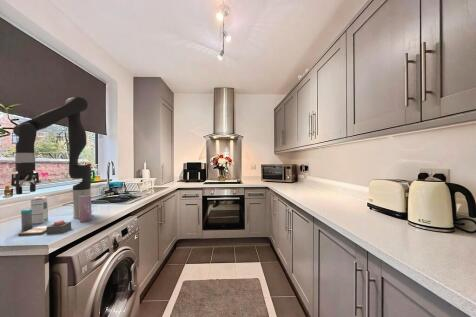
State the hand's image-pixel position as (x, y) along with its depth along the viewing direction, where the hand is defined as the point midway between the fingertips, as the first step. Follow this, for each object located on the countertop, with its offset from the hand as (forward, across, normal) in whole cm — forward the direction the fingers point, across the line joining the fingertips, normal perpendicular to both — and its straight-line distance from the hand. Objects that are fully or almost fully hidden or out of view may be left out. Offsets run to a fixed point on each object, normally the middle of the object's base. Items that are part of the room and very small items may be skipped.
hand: (26, 193), depth 114 cm
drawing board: (+19, +4, +8) cm, 21 cm away
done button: (+16, +6, +19) cm, 26 cm away
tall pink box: (+19, -12, +22) cm, 32 cm away
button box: (+19, +6, +19) cm, 28 cm away
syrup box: (+19, -16, -5) cm, 26 cm away
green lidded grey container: (+19, 0, 0) cm, 19 cm away
